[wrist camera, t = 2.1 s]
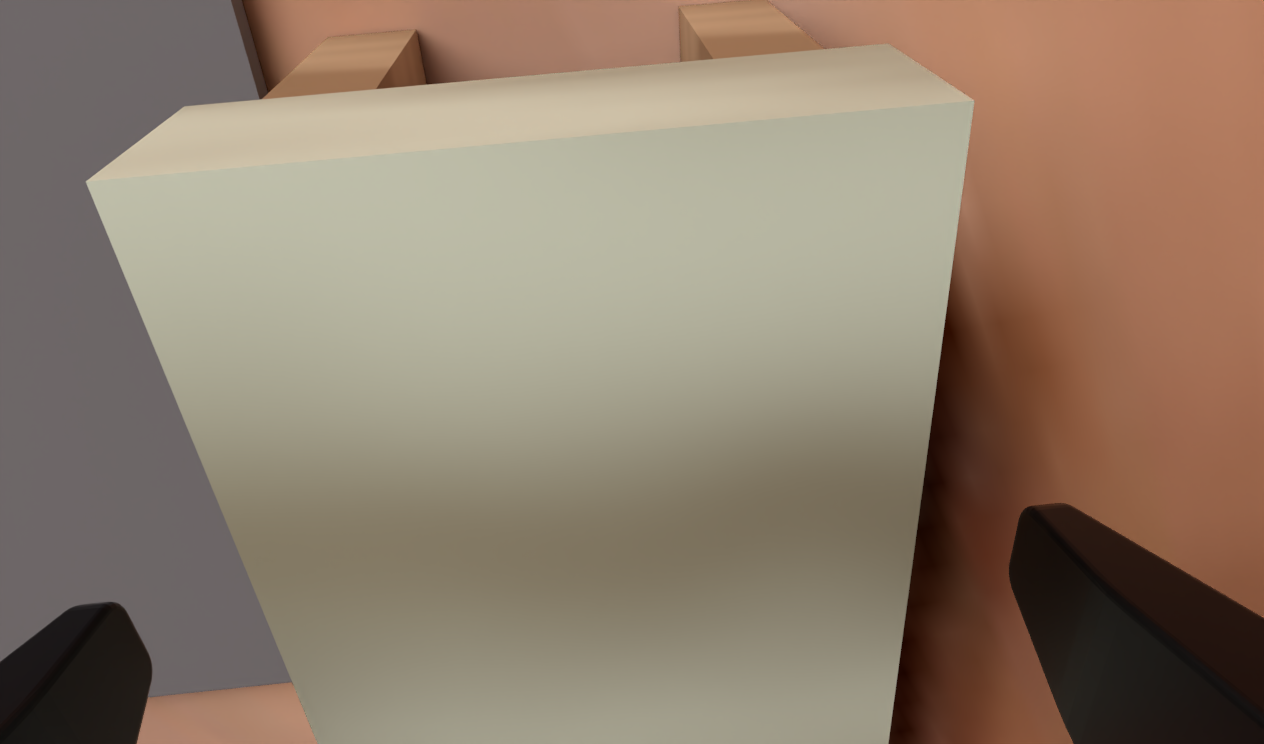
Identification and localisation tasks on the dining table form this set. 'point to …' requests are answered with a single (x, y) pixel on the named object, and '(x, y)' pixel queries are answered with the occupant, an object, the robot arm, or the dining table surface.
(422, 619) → the stool
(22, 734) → the robot arm
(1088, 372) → the dining table surface
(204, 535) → the felt pad
